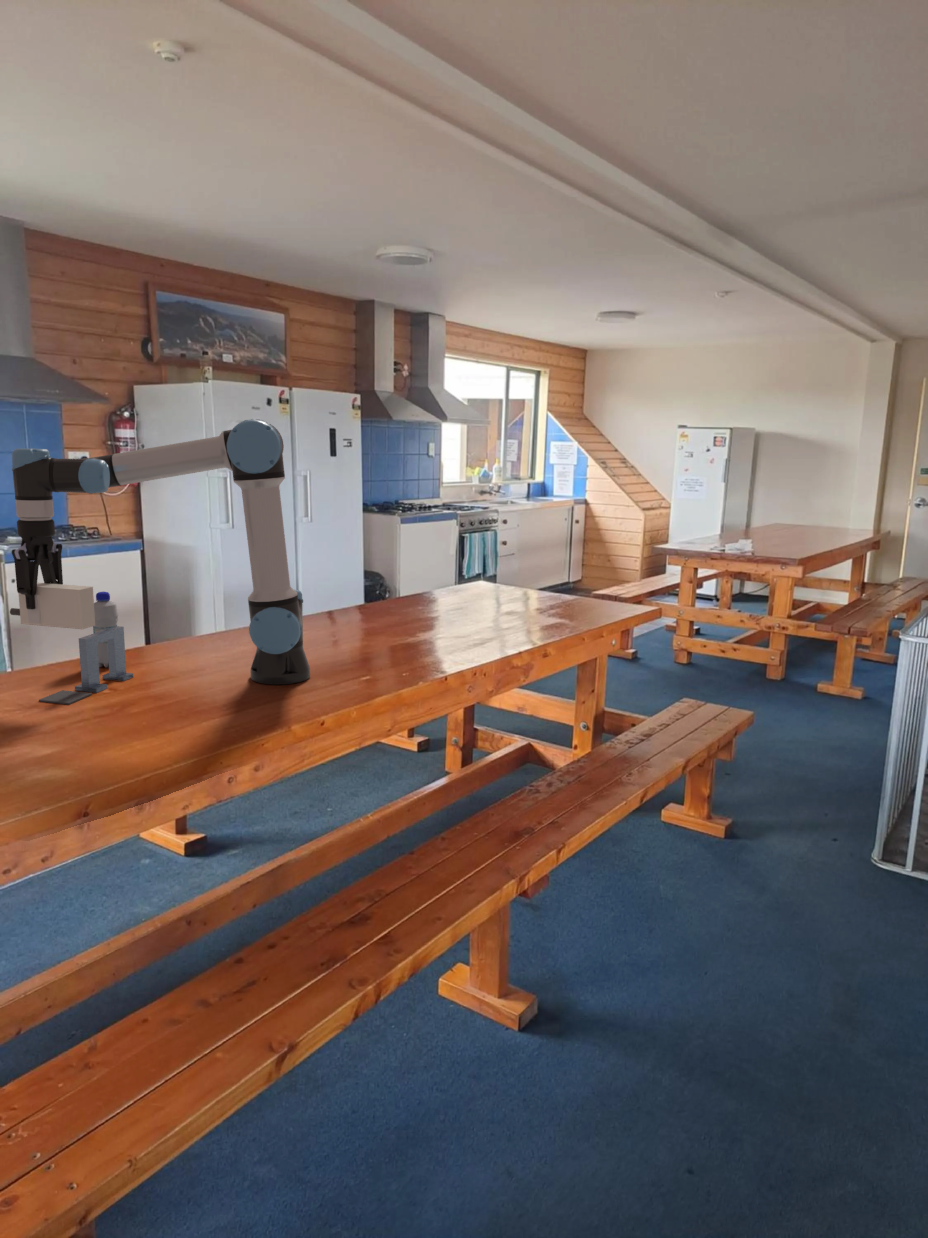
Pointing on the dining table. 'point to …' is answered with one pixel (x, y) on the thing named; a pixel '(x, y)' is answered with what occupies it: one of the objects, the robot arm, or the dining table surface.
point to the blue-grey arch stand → (91, 663)
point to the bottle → (104, 622)
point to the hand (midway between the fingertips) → (43, 620)
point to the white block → (61, 606)
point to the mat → (65, 697)
